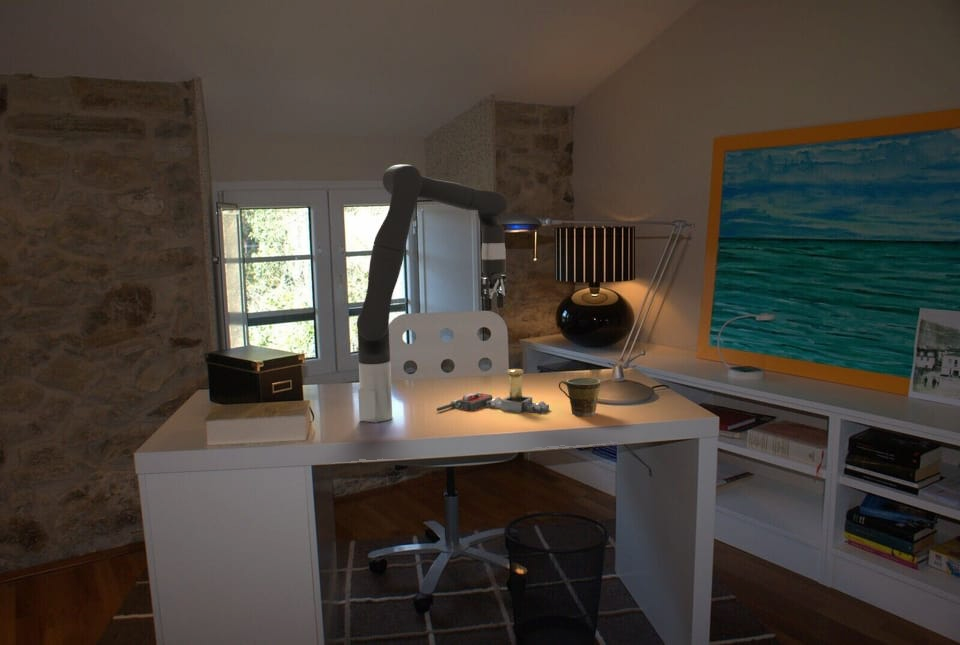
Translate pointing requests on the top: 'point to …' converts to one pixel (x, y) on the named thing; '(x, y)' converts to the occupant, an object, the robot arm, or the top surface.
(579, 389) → the ceramic cup
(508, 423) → the top surface
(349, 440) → the top surface
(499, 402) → the chain end
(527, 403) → the chain end
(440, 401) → the top surface
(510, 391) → the link pin
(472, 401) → the walkie-talkie
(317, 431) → the top surface
